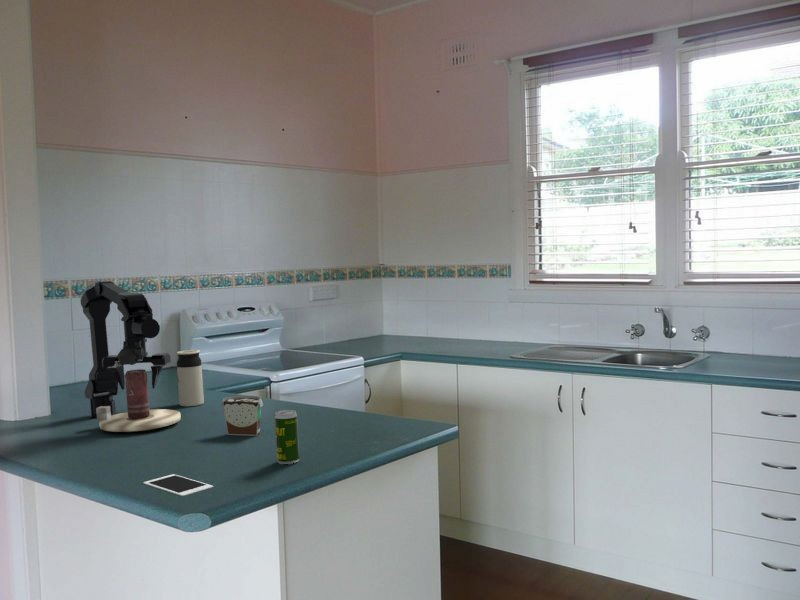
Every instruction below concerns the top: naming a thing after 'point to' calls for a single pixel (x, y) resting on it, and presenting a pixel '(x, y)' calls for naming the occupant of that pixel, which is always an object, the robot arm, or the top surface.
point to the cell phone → (178, 485)
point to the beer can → (286, 437)
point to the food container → (242, 415)
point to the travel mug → (190, 378)
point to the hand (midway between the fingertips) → (138, 388)
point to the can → (137, 394)
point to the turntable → (135, 420)
